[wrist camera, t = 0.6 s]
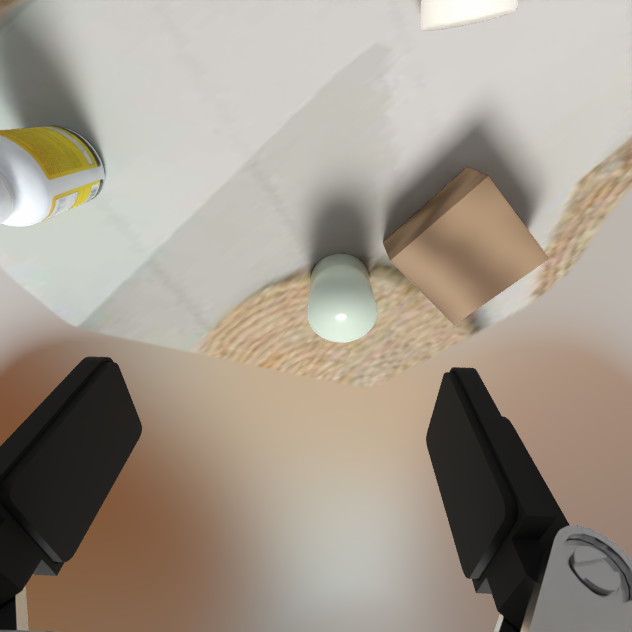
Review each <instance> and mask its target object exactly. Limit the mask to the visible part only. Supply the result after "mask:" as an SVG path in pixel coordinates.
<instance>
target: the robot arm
mask: <svg viewBox="0 0 632 632" xmlns="http://www.w3.org/2000/svg"><path fill="white" fill-rule="evenodd" d="M141 432H142V425H141V422H140V419H139V417H138V414H137V412H136V409H135V407H134V404H133V401H132V399H131V396H130V394H129V392H128V389H127V386H126V384H125V381H124V378H123V376H122V373H121V371H120V368H119V366H118V364H117V363H114V362H113V360H112V359H111V358H108V357H86V358H84V359H83V360H82V361H81V362H80V363H79V364H78V365H77V366H76V367H75V369H73V370H72V371H71V372H70V374H69V375H68V376H67V377H66V378H65V379H64V380H63V381H62V382H61V383H60V384H59V385H58V386H57V387H56V388H55V389H54V391H53V392H52V393H51V394H50V395H49V396H48V397H47V398H46V399H45V400H44V401H43V402H42V403H41V404H40V405H39V406H38V407H37V409H35V411H34V412H33V413H32V414H31V415H30V416H29V417H28V418H27V419H26V420H25V421H24V422H23V423H22V424H21V425H20V426H19V427H18V428H17V430H16V431H15V432H14V433H13V434H12V435H11V436H10V437H9V438H8V439H7V440H6V441H5V442H4V443H3V444H2V445H1V446H0V632H51V631H28V617H27V602H26V586H25V585H26V584H27V582H28V580H29V579H30V577H31V576H32V574H33V573H34V574H35V575H53V576H57V575H58V573H59V571H60V569H61V567H62V566H63V564H64V562H67V561H68V560H70V559H71V558H72V557H73V555H74V554H75V552H76V550H77V549H78V547H79V545H80V543H81V541H82V540H83V538H84V536H85V534H86V532H87V531H88V529H89V527H90V525H91V524H92V522H93V520H94V518H95V516H96V514H97V513H98V511H99V509H100V507H101V506H102V504H103V502H104V500H105V498H106V497H107V495H108V493H109V491H110V489H111V488H112V486H113V484H114V482H115V481H116V479H117V477H118V475H119V473H120V471H121V470H122V468H123V466H124V464H125V463H126V461H127V459H128V457H129V456H130V453H131V452H132V450H133V448H134V446H135V445H136V443H137V441H138V439H139V437H140V435H141ZM426 442H427V447H428V451H429V454H430V458H431V462H432V465H433V469H434V472H435V476H436V479H437V482H438V486H439V490H440V493H441V496H442V500H443V504H444V507H445V510H446V513H447V517H448V521H449V524H450V528H451V531H452V535H453V538H454V542H455V545H456V549H457V552H458V555H459V559H460V563H461V566H462V569H463V572H464V574H465V576H466V577H467V578H469V579H472V581H473V584H474V588H475V591H476V593H488V594H492V595H493V598H494V601H495V604H496V607H497V610H498V612H500V616H499V619H498V622H497V625H496V628H495V631H494V632H632V560H631V558H630V557H629V556H628V555H627V554H626V553H625V552H624V551H623V550H622V549H621V548H620V547H619V546H618V545H617V544H615V543H614V542H613V541H611V540H610V539H608V538H607V537H606V536H604V535H602V534H600V533H598V532H596V531H594V530H592V529H590V528H586V527H582V526H578V525H577V526H570V525H569V523H568V522H567V520H566V518H565V516H564V515H563V513H562V511H561V509H560V508H559V506H558V504H557V502H556V501H555V499H554V497H553V495H552V494H551V492H550V490H549V488H548V486H547V485H546V483H545V481H544V480H543V478H542V476H541V474H540V472H539V471H538V469H537V467H536V465H535V464H534V462H533V460H532V458H531V457H530V455H529V453H528V451H527V450H526V448H525V446H524V444H523V442H522V441H521V439H520V437H519V436H518V434H517V432H516V430H515V428H514V427H513V425H512V424H511V422H510V421H509V420H508V419H507V418H506V417H502V416H501V414H500V412H499V411H498V409H497V407H496V405H495V403H494V401H493V400H492V398H491V396H490V394H489V392H488V390H487V389H486V387H485V385H484V383H483V382H482V380H481V378H480V376H479V374H478V372H477V371H476V369H474V368H455V367H454V368H452V369H451V370H450V372H447V373H445V374H444V376H443V379H442V382H441V386H440V389H439V393H438V396H437V400H436V403H435V407H434V410H433V414H432V417H431V421H430V424H429V428H428V432H427V436H426Z"/></svg>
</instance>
